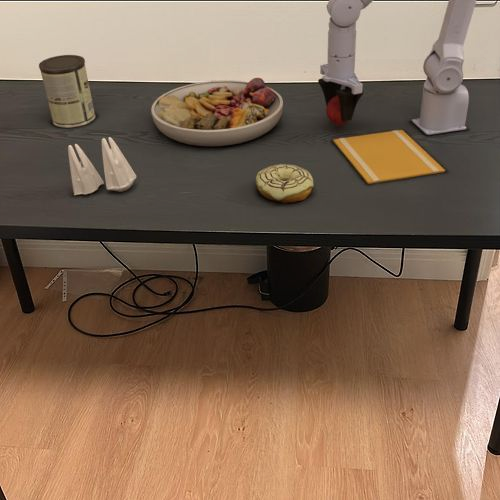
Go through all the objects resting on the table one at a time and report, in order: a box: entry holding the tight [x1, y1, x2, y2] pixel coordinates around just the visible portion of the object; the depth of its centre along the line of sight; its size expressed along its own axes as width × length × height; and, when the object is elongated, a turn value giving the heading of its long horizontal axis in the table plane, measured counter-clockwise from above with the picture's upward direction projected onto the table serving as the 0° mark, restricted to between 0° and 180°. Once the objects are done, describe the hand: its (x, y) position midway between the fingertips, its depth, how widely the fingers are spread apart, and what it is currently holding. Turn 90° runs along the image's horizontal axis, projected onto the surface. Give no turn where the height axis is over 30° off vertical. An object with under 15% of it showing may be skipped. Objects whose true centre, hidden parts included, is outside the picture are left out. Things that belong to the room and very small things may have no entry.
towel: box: [332, 129, 446, 185], centre depth 130 cm, size 16×20×1 cm
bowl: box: [150, 77, 284, 147], centre depth 145 cm, size 30×30×8 cm
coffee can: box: [38, 54, 96, 129], centre depth 149 cm, size 10×10×14 cm
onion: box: [325, 95, 348, 127], centre depth 139 cm, size 6×6×8 cm
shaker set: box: [67, 136, 137, 196], centre depth 120 cm, size 12×4×11 cm, turn 88°
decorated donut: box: [255, 163, 315, 204], centre depth 119 cm, size 10×11×4 cm
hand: (339, 114), depth 139 cm, fingers closed on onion, 6 cm apart
